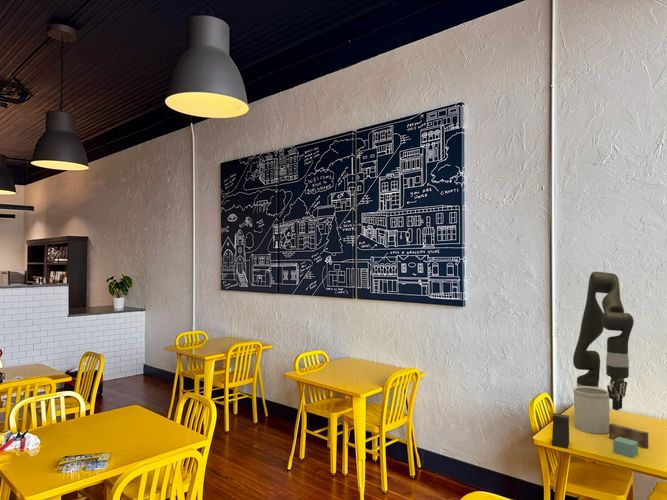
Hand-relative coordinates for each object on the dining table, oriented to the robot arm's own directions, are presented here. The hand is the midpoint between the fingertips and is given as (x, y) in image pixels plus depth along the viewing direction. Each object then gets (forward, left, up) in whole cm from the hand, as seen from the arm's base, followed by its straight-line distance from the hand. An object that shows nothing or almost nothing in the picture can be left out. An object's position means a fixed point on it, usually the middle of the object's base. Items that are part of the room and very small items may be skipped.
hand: (617, 408), depth 183 cm
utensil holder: (-20, +27, -19) cm, 39 cm away
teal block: (0, +9, -19) cm, 21 cm away
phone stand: (-21, -2, -19) cm, 28 cm away
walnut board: (-4, +22, -19) cm, 29 cm away
